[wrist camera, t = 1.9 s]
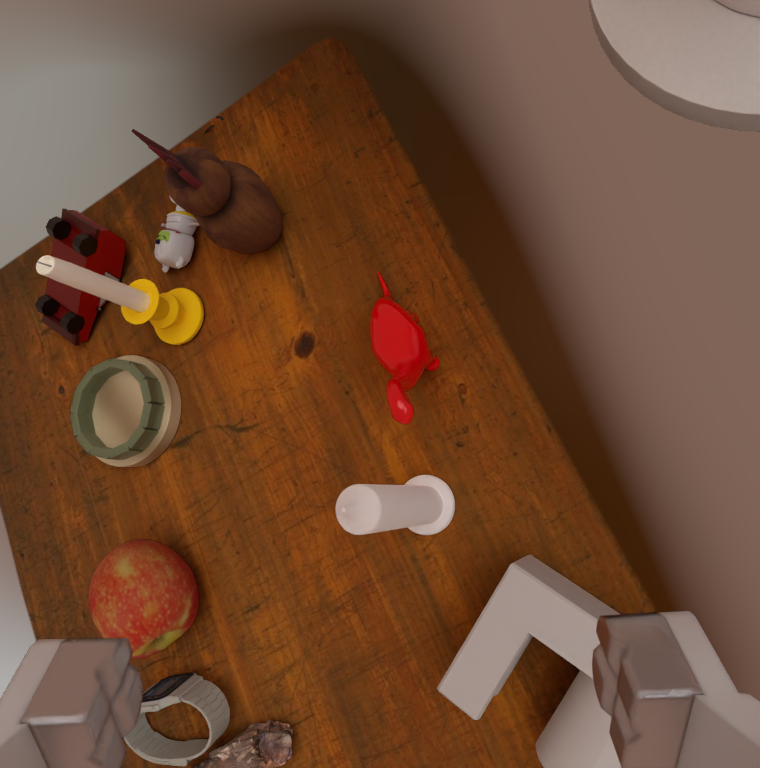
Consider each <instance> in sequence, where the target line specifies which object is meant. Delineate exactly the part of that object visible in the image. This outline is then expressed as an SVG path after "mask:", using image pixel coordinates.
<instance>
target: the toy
mask: <svg viewBox="0 0 760 768" xmlns="http://www.w3.org/2000/svg"><path fill="white" fill-rule="evenodd" d="M216 118H220V119H221V120H223V118H222V117H221V116H217V117H216ZM212 127H214V125H212V126H210V127H209V128H208V129H207V130H206V131H205V133H206V132H207V131H208V130H209V129H210V128H212ZM169 197H170V195H169ZM170 199H171V201H172V202H173V203H175V202H174V201H173V199H172V198H171V197H170ZM175 204H176V203H175ZM167 216H168V217H167V221H166V222H167V224H163V223H162V225H160V226H163V227H166V229H163V230H162V231H161V232H160V233H159V234H158V236H157V239H156V245H155V258H156V259H157V260H158V261H159V262H160V263H162V265H163V268H162V270H163V272H167V271H168V270H169V267H172V268H178V269H179V268H181V267H184V266H185V265H187V264H188V263H189V261H190V259H191V256H192V253H193V249H194V243H195V241H194V238H193V237H192V235H193V233H194V231H195V230H196V227H197V226H200V225H199V223H197V222H198V221H197V220H196V218H195V217H194V216H193V215H192V214H190V213H188V212H186V211H185V210H184V209H182V208H181V207H180V206H179V205H178V204H177V206H176V211H174V212H171V213H169V214H167Z"/></svg>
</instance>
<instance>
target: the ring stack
mask: <svg viewBox="0 0 760 768" xmlns="http://www.w3.org/2000/svg"><path fill="white" fill-rule="evenodd" d="M77 388H78V389H79V390H78V389H75V393H74V397H73V402H72V406H71V410H70V412H71V413H72V414H70V416H71V422H72V427H73V432H74V436H76V440H77V441H78V442H79V443H80V444H81V446H82V447H83V448H84V449H85V450H86V452H87V453H89V454H90V455H92V456H96V457H97V458H98V459H100V460H101V461H102V462H104V463H106V464H109V465H112V466H117V467H139V466H143V465H146V464H148V463H150V462H152V461H153V460H155V459H156V458H158V457H159V456H160V455H161V454H162V453H163V452H164V451H165V450H166V449H167V448H168V446H169V445H170V443H171V442H172V440H173V438H174V436H175V434H176V431H177V429H178V425H179V422H180V416H181V397H180V392H179V388H178V385H177V383H176V381H175V379H174V377H173V376H172V374H171V373H170V372H169V370H168V369H167V368H166V367H164V366H163V365H162V364H160V363H159V362H157V361H155V360H152V359H148V358H145V357H141V356H136V355H127V356H122V357H119V358H116V359H115V358H111V359H108V360H105V361H103V362H101V363H99V364H97V365H95V366H93V367H92V369H89V370H88V372H87V373H86V374H85V376H84V377H83V379H82V380H81V381H80V383H79V384H78V385H77Z"/></svg>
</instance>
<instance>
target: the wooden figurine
mask: <svg viewBox="0 0 760 768" xmlns="http://www.w3.org/2000/svg"><path fill="white" fill-rule="evenodd" d="M132 132H133V133H134V134H135V135H136V136H138V137H139V138H140V139H141V140H142V141H143V142H145V143H146V144H147V145H148V147H149V148H150V149H151V150H152V151H154V152H155V153H156V154H157V155H158V156H159V157H161V158H162V159H163V160H164V161H165V162H166V163H167V164H168V165H167V168H166V170H165V177H164V179H165V186H166V190H167V192H168V193H169V195H170V197H171V198H172V199H173V201H174V202H175V203H176V204H178V205H179V206H180V207H181V208H182V209H184V210H185V211H187V212H189V213H191V214H194V215H195V217H196V219H197V221H198V223H199V225H200V226H201V227H202V229H203V230H204V231H205V232H206V234H207V235H208V236H209V238H210V239H211V240H212V241H214V242H215V243H216V244H217V245H219V246H221V247H223V248H226V249H229V250H233V251H236V252H239V253H244V254H251V253H256V252H262V251H265V250H266V249H268V248H270V247H271V246H272V245H273V244H274V243H275V242H276V241H277V240H278V239H279V236H280V234H281V231H282V217H281V212H280V210H279V208H278V206H277V204H276V202H275V200H274V198H273V196H272V194H271V192H270V191H269V189H268V188H267V187H266V185H265V184H264V183H263V181H262V180H261V179H260V177H259V176H258V175H257V174H256V173H255V172H254V171H252V170H251V169H250V168H248V167H246V166H244V165H241V164H238V163H234V162H231V161H225V160H224V161H221V160H220V159H219V158H217V157H216V156H215V155H214V154H212V153H211V152H209V151H208V150H205V149H201V148H197V147H189V148H184V149H182V150H181V151H179V152H177V153H176V154H173V153H172V152H170V151H168V150H167V149H165V148H164V147H162V146H160V145H158V144H157V143H155V142H154V141H152V140H150V139H148V138H147V137H146V136H144V135H142V134H141V133H139V132H137V131H135V130H134V129H133V130H132Z"/></svg>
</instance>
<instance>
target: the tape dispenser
mask: <svg viewBox="0 0 760 768" xmlns="http://www.w3.org/2000/svg"><path fill="white" fill-rule="evenodd" d="M619 614H620V613H618V612H617V611H615V610H614V609H612V608H611V607H609V606H608V605H606V604H605V603H603V602H601V601H600V600H598V599H597V598H595V597H594V596H592V595H591V594H589V593H588V592H586V591H585V590H583V589H582V588H580V587H579V586H577V585H576V584H574V583H573V582H571V581H570V580H568V579H567V578H565V577H564V576H562V575H561V574H559V573H558V572H556V571H555V570H553V569H552V568H550V567H549V566H547V565H546V564H544V563H542V562H541V561H539V560H538V559H536V558H535V557H533V556H532V555H526V556H524V557H523V558H521V559H519V560H517V561H515V562H513V563H511V564H510V566H509V567H508V569H507V571H506V572H505V574H504V576H503V578H502V579H501V581H500V583H499V584H498V586H497V588H496V589H495V591H494V593H493V594H492V596H491V598H490V599H489V601H488V603H487V604H486V606H485V608H484V610H483V611H482V613H481V615H480V616H479V618H478V620H477V621H476V623H475V625H474V626H473V628H472V630H471V631H470V633H469V635H468V636H467V638H466V640H465V642H464V643H463V645H462V647H461V648H460V650H459V652H458V653H457V655H456V657H455V658H454V660H453V662H452V663H451V665H450V667H449V668H448V670H447V672H446V674H445V675H444V677H443V679H442V680H441V682H440V684H439V685H438V687H437V689H438V691H439V692H440V693H441V694H443V695H444V696H445V697H446V698H448V699H449V700H450V701H451V702H452V703H454V704H455V705H456V706H457V707H459V708H460V709H461V710H462V711H464V712H465V713H466V714H467V715H469V716H470V717H471V718H472V719H474V720H478V719H480V717H481V716H482V714H483V712H484V711H485V709H486V707H487V706H488V704H489V702H490V701H491V699H492V697H493V696H495V695H498V694H499V692H500V690H501V689H502V687H503V685H504V684H505V682H506V680H507V679H508V677H509V676H510V674H511V672H512V671H513V669H514V667H515V666H516V664H517V662H518V661H519V659H520V657H521V656H522V654H523V652H524V651H525V649H526V647H527V646H528V644H529V642H530V641H531V639H532V637H533V636H534V637H535V638H536V639H538V640H539V641H541V642H542V643H543V644H545V645H546V646H548V647H549V648H550V649H552V650H553V651H555V652H556V653H557V654H559V655H560V656H562V657H563V658H564V659H566V660H567V661H569V662H570V663H571V664H573V665H574V666H576V667H577V668H578V669H580V671H579V673H578V674H577V676H576V678H575V679H574V681H573V683H572V684H571V686H570V688H569V689H568V691H567V692H566V694H565V696H564V697H563V699H562V701H561V702H560V704H559V706H558V707H557V709H556V710H555V712H554V714H553V715H552V717H551V719H550V720H549V722H548V724H547V725H546V727H545V728H544V730H543V732H542V733H541V735H540V737H539V738H538V740H537V742H536V747H535V748H536V752H537V756H538V759H539V761H540V763H541V764H542V766H543V768H621V765H620V762H619V759H618V756H617V753H616V751H615V748H614V745H613V742H612V739H611V736H610V733H609V730H610V724H611V716H610V715H609V714H607V713H606V712H605V711H604V710H603V709H602V708H601V707H600V704H599V701H598V698H597V695H596V690H595V686H594V682H593V672H592V658H593V650H594V649H595V648H596V647H597V646H598V645H599V644H600V641H599V639H598V636H597V633H596V627H597V621H598V619H599V617H600V616H602V615H619ZM738 693H739V692H738Z"/></svg>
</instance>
